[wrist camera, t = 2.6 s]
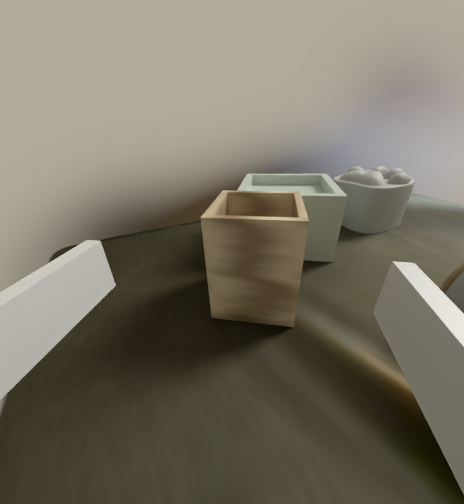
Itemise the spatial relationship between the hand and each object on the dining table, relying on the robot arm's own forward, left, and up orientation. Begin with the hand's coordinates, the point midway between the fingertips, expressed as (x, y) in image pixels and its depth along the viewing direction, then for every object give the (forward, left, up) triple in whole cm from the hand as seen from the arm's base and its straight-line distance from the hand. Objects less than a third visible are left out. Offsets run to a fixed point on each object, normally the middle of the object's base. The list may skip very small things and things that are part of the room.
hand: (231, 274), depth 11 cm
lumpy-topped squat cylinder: (-18, -34, -10) cm, 40 cm away
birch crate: (0, -10, -10) cm, 14 cm away
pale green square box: (-3, -24, -10) cm, 26 cm away
